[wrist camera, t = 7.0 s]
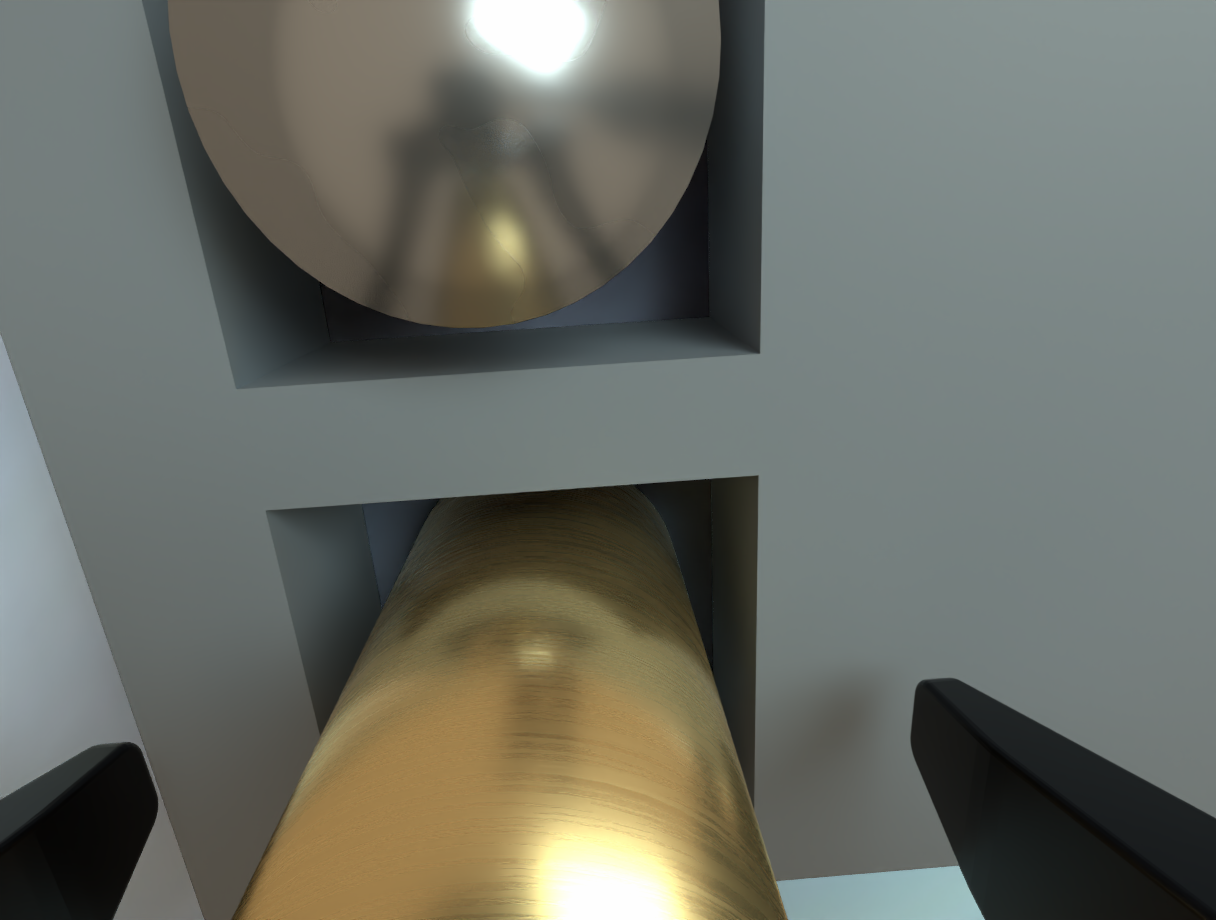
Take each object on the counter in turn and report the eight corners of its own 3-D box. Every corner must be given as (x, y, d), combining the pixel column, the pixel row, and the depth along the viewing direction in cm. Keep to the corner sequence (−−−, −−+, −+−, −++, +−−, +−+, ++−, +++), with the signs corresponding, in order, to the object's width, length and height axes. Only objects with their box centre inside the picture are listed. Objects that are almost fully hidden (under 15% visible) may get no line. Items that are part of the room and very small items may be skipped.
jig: (1534, -261, 8) (2017, -502, 6) (1251, 693, 13) (1438, 824, 10) (35, -187, 8) (-258, -407, 5) (290, 770, 13) (208, 928, 10)
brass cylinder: (672, 444, 11) (894, 945, 3) (679, 677, 12) (843, 1386, 5) (392, 464, 11) (-18, 1028, 3) (432, 697, 12) (212, 1456, 5)
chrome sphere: (655, -84, 9) (717, -316, 5) (667, 277, 10) (722, 310, 6) (303, -63, 9) (92, -283, 5) (366, 298, 10) (242, 345, 6)
